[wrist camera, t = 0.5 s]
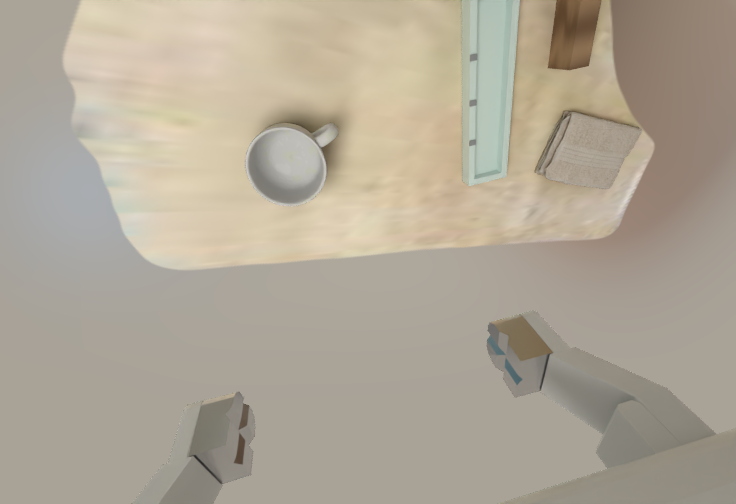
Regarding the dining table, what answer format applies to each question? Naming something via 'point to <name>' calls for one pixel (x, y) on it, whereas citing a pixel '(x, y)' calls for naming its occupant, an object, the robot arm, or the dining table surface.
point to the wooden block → (573, 33)
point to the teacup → (289, 162)
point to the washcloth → (586, 150)
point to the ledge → (487, 86)
